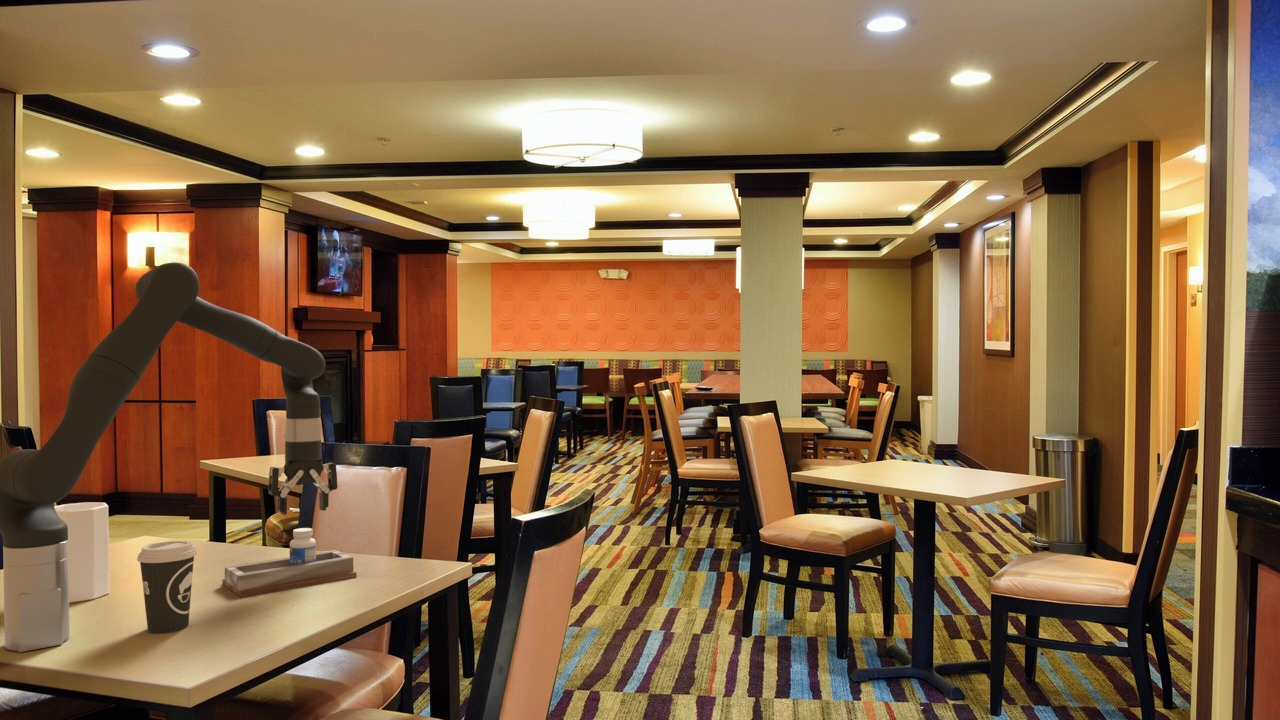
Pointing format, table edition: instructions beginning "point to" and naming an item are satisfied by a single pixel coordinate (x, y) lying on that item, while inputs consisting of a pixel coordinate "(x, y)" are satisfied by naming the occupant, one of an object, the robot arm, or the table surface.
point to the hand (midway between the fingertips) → (303, 512)
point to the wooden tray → (287, 573)
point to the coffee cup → (167, 584)
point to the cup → (87, 549)
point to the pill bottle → (302, 547)
